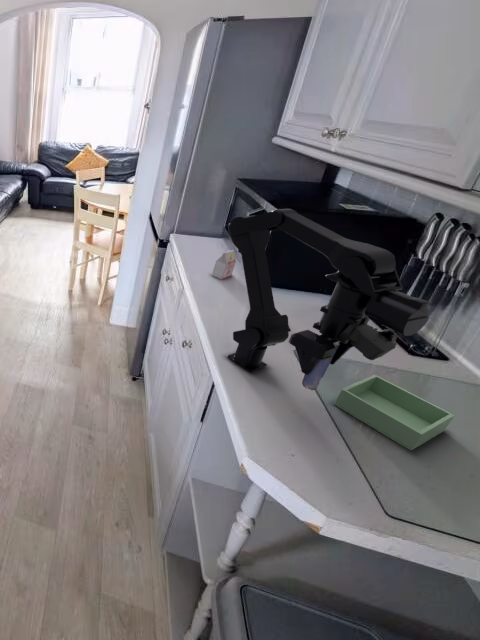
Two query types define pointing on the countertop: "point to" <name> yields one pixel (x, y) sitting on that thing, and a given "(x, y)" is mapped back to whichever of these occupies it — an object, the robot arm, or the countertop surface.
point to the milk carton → (224, 265)
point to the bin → (393, 411)
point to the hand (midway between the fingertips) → (317, 368)
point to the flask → (317, 372)
